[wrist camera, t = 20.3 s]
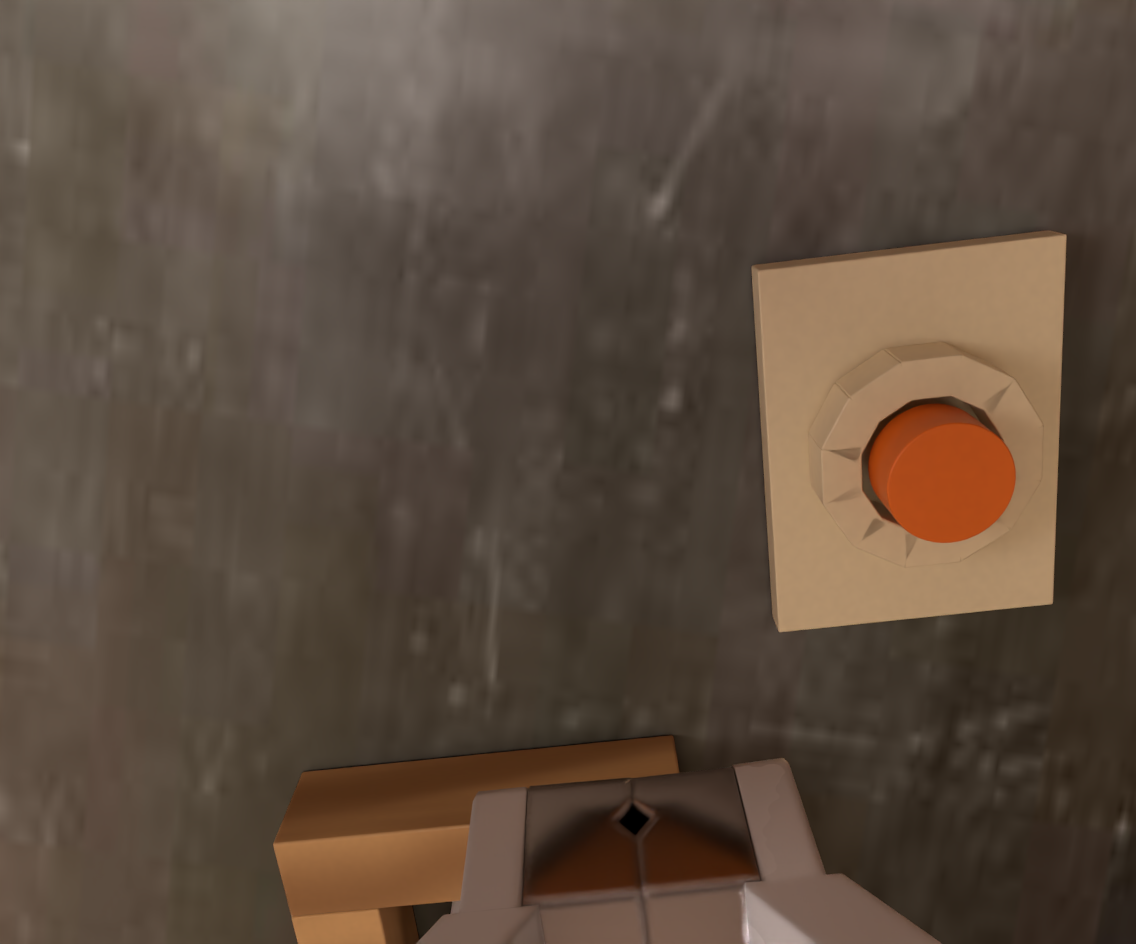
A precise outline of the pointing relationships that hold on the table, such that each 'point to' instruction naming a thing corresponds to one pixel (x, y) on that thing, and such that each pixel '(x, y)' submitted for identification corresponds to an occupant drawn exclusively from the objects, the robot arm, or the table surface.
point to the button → (941, 473)
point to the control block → (886, 389)
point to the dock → (414, 831)
